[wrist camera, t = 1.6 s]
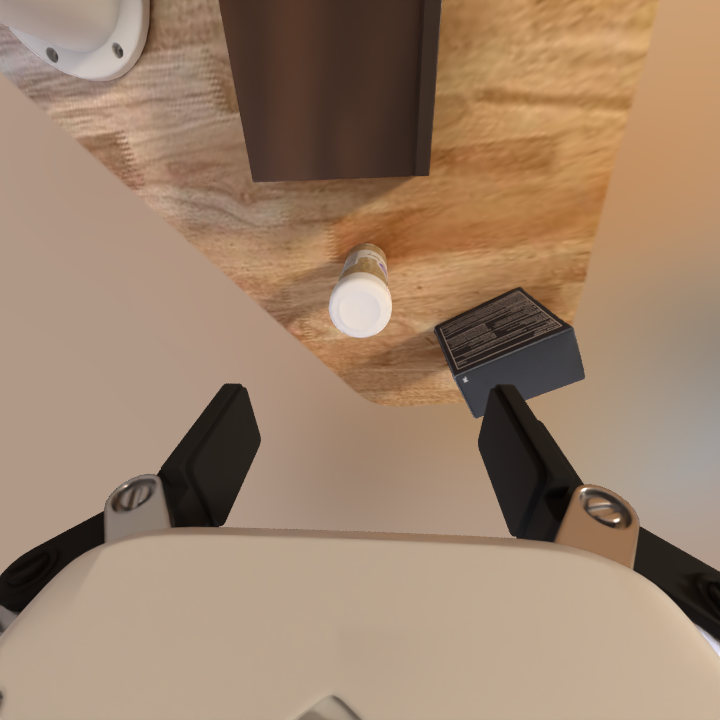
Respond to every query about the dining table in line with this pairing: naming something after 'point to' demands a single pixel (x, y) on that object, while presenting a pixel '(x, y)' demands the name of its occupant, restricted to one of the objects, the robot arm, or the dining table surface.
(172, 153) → the dining table surface
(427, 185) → the dining table surface
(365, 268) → the sprinkles bottle
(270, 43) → the shelf
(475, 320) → the small box
